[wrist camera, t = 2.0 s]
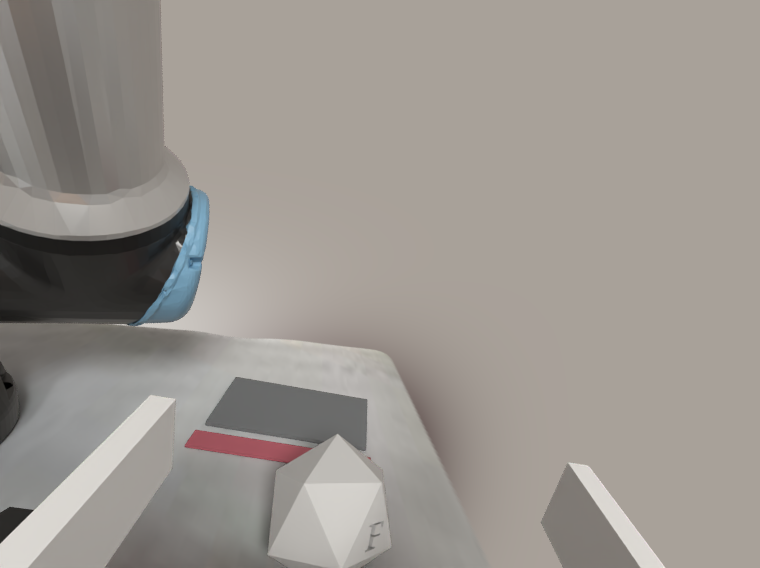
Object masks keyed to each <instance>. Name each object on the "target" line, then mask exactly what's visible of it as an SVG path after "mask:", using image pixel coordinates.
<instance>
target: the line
mask: <svg viewBox="0 0 760 568" xmlns="http://www.w3.org/2000/svg"><path fill="white" fill-rule="evenodd" d="M185 447H188V448H194V449H201V450H207V451H214V452H220V453H227V454H233V455H239V456H246V457H252V458H259V459H265V460H272V461H278V462H285V463H289V462H291V461H293V460H294V459H296V458H298V457H299V456H301V455H303V454H304V453H306V452H308V451H309V450H311V449H313V448H307V447H301V446H295V445H288V444H282V443H276V442H269V441H263V440H257V439H250V438H244V437H238V436H231V435H225V434H219V433H213V432H206V431H200V430H195V431H194V433H193V434H192V436H191V437H190V438H189V440H188V441H187V443H186V444H185ZM367 458H369V459H370V460H371V458H370V457H367Z"/></svg>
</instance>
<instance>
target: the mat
mask: <svg viewBox="0 0 760 568" xmlns="http://www.w3.org/2000/svg"><path fill="white" fill-rule="evenodd" d="M206 425H207V426H214V427H220V428H226V429H232V430H239V431H245V432H251V433H257V434H264V435H270V436H276V437H282V438H289V439H295V440H301V441H307V442H314V443H320V444H321V443H323V442H324V441H326V440H328V439H329V438H331V437H333V436H334V435H336V434H339V435H340V436H341V437H342V438H344V439H345V440H346V441H347V442H349V443H350V444H351V445H352V446H354V447H355V448H356V449H357V450H364V451H365V450H366V432H367V399H361V398H356V397H350V396H344V395H338V394H332V393H327V392H321V391H315V390H309V389H303V388H298V387H292V386H286V385H280V384H274V383H269V382H263V381H257V380H251V379H245V378H240V377H236V378H235V379H234V381H233V382H232V384H231V385H230V387H229V388H228V390H227V391H226V392H225V394H224V395H223V397H222V398H221V400H220V401H219V403H218V404H217V406H216V407H215V409H214V410H213V412H212V413H211V415H210V416H209V418H208V419H207V421H206Z"/></svg>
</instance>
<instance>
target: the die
mask: <svg viewBox="0 0 760 568" xmlns="http://www.w3.org/2000/svg"><path fill="white" fill-rule="evenodd" d="M391 547H392V544H391V535H390V527H389V518H388V510H387V501H386V493H385V484H384V476H383V470H382V469H381V468H380V467H379V466H377V465H376V464H375V463H374V462H372V461H371V460H370V459H369V458H367V457H366V456H365V455H364V454H362V453H361V452H360V451H359V450H357V449H356V448H355V447H354V446H352V445H351V444H350V443H349V442H347V441H346V440H345V439H344V438H342V437H341V436H340V435H339V434H336V435H334V436H333V437H331V438H329V439H328V440H326V441H324V442H323V443H321V444H319V445H318V446H316V447H314V448H313V449H311V450H309V451H308V452H306V453H304V454H303V455H301V456H299V457H298V458H296V459H294V460H293V461H291V462H289V463H287V464H286V465H284V466H282V467H281V468H279V469H277V470H276V476H275V486H274V496H273V506H272V515H271V525H270V535H269V544H268V554H267V555H268V556H270V557H271V558H273V559H275V560H276V561H278V562H279V563H281V564H283V565H284V566H286V567H288V568H361V567H363V566H364V565H366V564H367V563H369V562H370V561H372V560H373V559H375V558H376V557H378V556H379V555H381V554H382V553H384V552H385V551H387V550H388V549H390V548H391Z"/></svg>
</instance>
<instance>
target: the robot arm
mask: <svg viewBox="0 0 760 568" xmlns="http://www.w3.org/2000/svg"><path fill="white" fill-rule="evenodd" d="M208 225H209V199H208V197H207V195H206V193H204V192H203V191H201V190H198V189H196V188H194V187H193V186H189V178H188V174H187V171H186V169H185V167H184V165H183V164H182V162H181V161H180V160H179V159H178V157H177V156H176V155H175V154H174V153H173V152H172V151H171V150H170V149H168V148H167V147H166V146H164V119H163V81H162V42H161V5H160V0H0V323H92V324H127V325H129V326H138V325H141V324H143V323H162V322H173V321H176V320H179V319H180V318H182V317H183V316H185V315H186V314H187V312H188V311H189V310H190V308H191V306H192V303H193V301H194V298H195V295H196V291H197V288H198V283H199V280H200V274H201V268H202V264H201V262H202V260H203V256H204V252H205V247H206V241H207V233H208ZM175 408H176V399H173V398H166V397H160V396H154V395H150V396H149V397H148V398H147V399H146V400H145V401H144V402H143V403H142V404H141V405H140V406H139V407H138V408H137V409H136V410H135V411H134V412H133V413H132V414H131V415H130V416H129V417H128V418H127V419H126V420H125V421H124V422H123V423H122V424H121V425H120V426H119V427H118V428H117V429H116V430H115V431H114V432H113V433H112V434H111V435H110V436H109V437H108V438H107V439H106V440H105V441H104V442H103V443H102V444H101V445H100V446H99V447H98V448H97V449H96V450H95V451H94V452H92V453H91V454H90V455H89V456H88V457H87V458H86V459H85V460H84V461H83V462H82V463H81V464H80V465H79V466H78V467H77V468H76V469H75V470H74V471H73V472H72V473H71V474H70V475H69V476H68V477H67V478H66V479H65V480H64V481H63V482H62V483H61V484H60V485H59V486H58V487H57V488H56V489H55V490H54V491H53V492H52V493H51V494H50V495H49V496H48V497H47V498H46V499H45V500H44V501H43V502H42V503H41V504H40V505H39V506H38V507H37V508H36V509H35V510H29V509H21V508H14V507H9V508H7V509H6V510H4V511H2V512H1V513H0V568H105V566H106V565H107V564H108V562H109V561H110V559H111V558H112V556H113V555H114V553H115V552H116V550H117V549H118V547H119V546H120V544H121V543H122V542H123V540H124V539H125V537H126V536H127V534H128V533H129V531H130V530H131V528H132V527H133V525H134V524H135V522H136V521H137V520H138V518H139V517H140V515H141V514H142V512H143V511H144V509H145V508H146V506H147V505H148V503H149V502H150V500H151V499H152V498H153V496H154V495H155V493H156V492H157V490H158V489H159V487H160V486H161V484H162V483H163V481H164V480H165V478H166V477H167V476H168V474H169V473H170V471H171V470H172V462H173V444H174V426H175ZM18 417H19V400H18V391H17V387H16V384H15V382H14V380H13V379H12V377H11V376H10V375H9V374H8V373H7V372H6V370H5V368H4V367H3V365H2V363H1V362H0V442H1V441H3V439H4V438H5V437H6V436H7V435H8V434H9V433H10V431H11V430H12V429H13V427H14V426H15V424H16V422H17V419H18ZM541 524H542V526H543V528H544V530H545V532H546V534H547V536H548V538H549V540H550V542H551V544H552V546H553V548H554V550H555V552H556V554H557V556H558V558H559V560H560V562H561V564H562V566H563V568H665V566H663V564H662V563H661V561H660V560H659V559H658V557H657V556H656V555H655V553H654V552H653V551H652V549H651V548H650V547H649V545H648V544H647V543H646V541H645V540H644V539H643V537H642V536H641V535H640V533H639V532H638V531H637V529H636V528H635V527H634V525H633V524H632V523H631V521H630V520H629V519H628V517H627V516H626V515H625V513H624V512H623V511H622V510H621V508H620V507H619V506H618V504H617V503H616V501H615V500H614V499H613V498H612V496H611V495H610V494H609V492H608V491H607V490H606V488H605V487H604V486H603V484H602V483H601V482H600V480H599V479H598V478H597V476H596V475H595V474H594V472H593V471H592V470H591V468H590V467H589V466H587V465H581V464H575V463H569V462H568V463H567V466H566V468H565V470H564V472H563V474H562V477H561V479H560V481H559V483H558V485H557V487H556V490H555V492H554V494H553V497H552V499H551V501H550V503H549V505H548V507H547V510H546V512H545V514H544V516H543V518H542V521H541Z"/></svg>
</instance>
